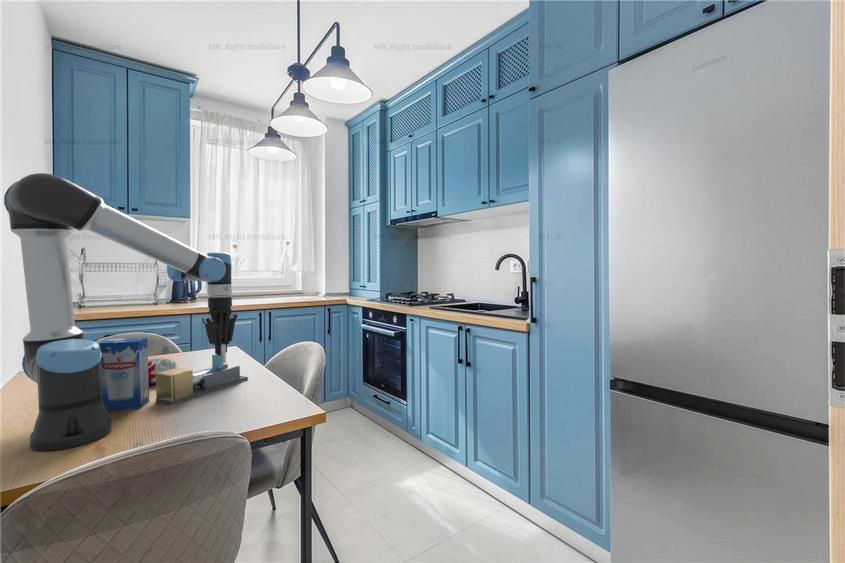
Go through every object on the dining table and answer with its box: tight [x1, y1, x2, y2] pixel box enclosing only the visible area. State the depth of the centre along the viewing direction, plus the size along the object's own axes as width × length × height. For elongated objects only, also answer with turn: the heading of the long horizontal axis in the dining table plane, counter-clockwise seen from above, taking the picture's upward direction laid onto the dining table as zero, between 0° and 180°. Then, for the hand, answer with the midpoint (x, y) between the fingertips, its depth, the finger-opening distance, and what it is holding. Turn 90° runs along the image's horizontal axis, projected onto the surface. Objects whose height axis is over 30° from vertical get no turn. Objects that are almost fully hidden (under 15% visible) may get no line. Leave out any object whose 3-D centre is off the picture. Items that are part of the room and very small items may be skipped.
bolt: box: [193, 353, 224, 387], centre depth 131 cm, size 16×4×8 cm, turn 157°
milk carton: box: [98, 337, 150, 412], centre depth 117 cm, size 10×6×20 cm, turn 105°
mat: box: [155, 375, 249, 406], centre depth 133 cm, size 29×8×1 cm, turn 157°
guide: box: [155, 363, 241, 402], centre depth 131 cm, size 25×7×8 cm, turn 157°
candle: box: [148, 357, 178, 386], centre depth 139 cm, size 9×11×15 cm
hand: (221, 362), depth 139 cm, fingers closed
